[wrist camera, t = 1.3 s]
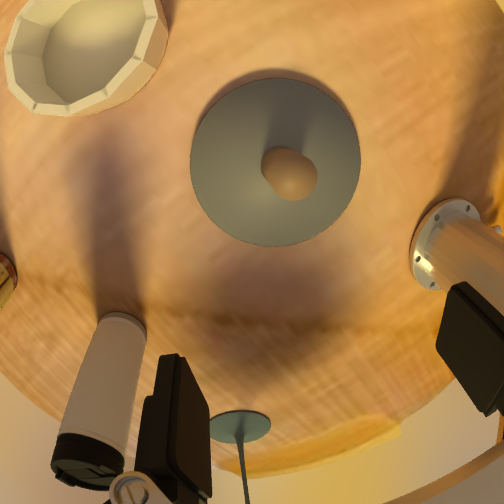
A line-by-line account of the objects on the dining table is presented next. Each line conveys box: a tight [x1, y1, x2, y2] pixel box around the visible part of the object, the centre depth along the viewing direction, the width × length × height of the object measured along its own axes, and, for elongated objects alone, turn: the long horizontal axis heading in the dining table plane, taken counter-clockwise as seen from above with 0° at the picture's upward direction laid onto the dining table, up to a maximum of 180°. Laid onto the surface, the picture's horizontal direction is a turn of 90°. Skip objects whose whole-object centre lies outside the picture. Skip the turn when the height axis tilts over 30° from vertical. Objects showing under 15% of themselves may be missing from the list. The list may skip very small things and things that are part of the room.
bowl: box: [4, 0, 169, 117], centre depth 18 cm, size 13×13×6 cm
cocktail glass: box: [210, 411, 271, 504], centre depth 34 cm, size 18×18×25 cm
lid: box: [190, 78, 361, 247], centre depth 25 cm, size 16×16×6 cm
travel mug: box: [50, 312, 147, 491], centre depth 25 cm, size 6×7×20 cm
